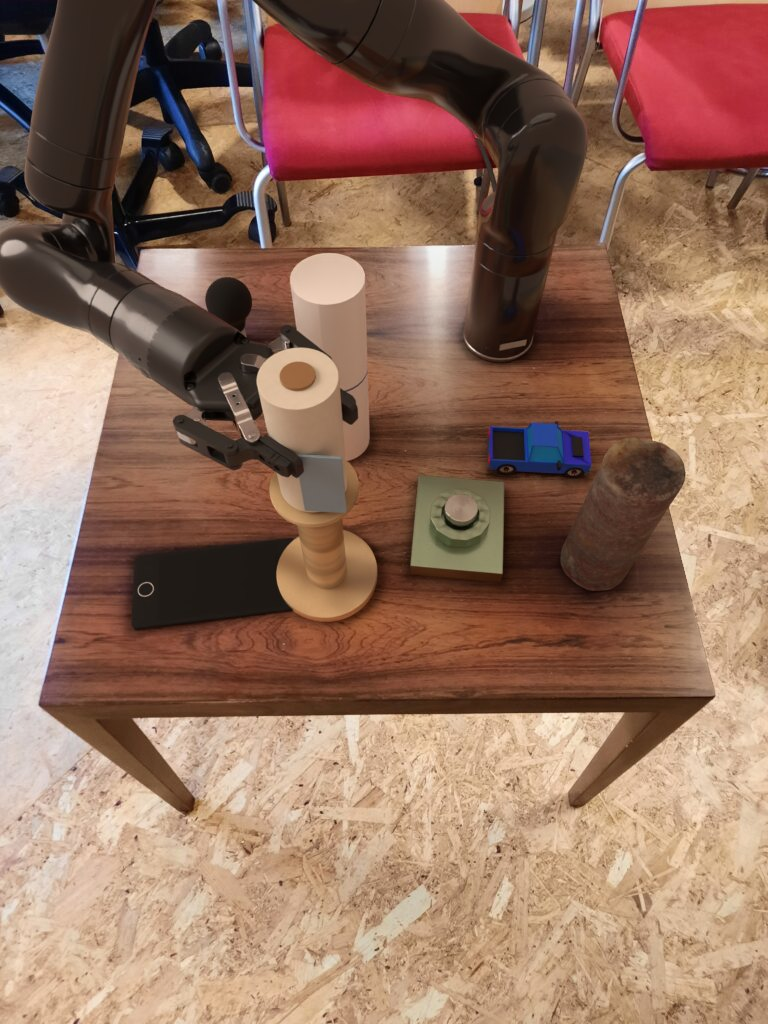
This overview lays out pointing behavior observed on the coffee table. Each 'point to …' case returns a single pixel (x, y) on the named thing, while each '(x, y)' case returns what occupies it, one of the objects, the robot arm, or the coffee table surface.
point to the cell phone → (207, 584)
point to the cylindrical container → (337, 329)
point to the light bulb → (229, 301)
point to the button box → (458, 531)
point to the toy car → (538, 450)
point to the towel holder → (324, 560)
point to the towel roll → (307, 426)
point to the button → (460, 511)
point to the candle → (621, 512)
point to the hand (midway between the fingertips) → (328, 441)
